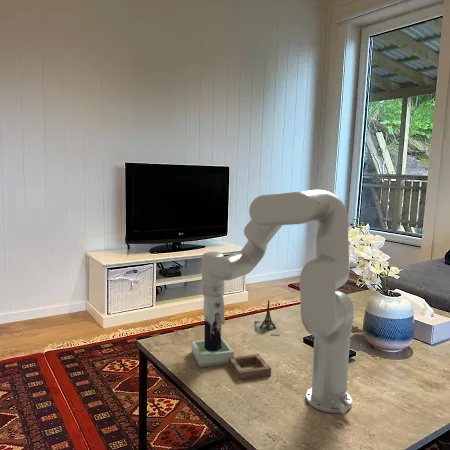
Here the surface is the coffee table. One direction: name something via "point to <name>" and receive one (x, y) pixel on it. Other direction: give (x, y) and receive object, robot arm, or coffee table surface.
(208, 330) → the beverage can
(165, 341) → the coffee table surface
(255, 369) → the socket block
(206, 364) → the tray
